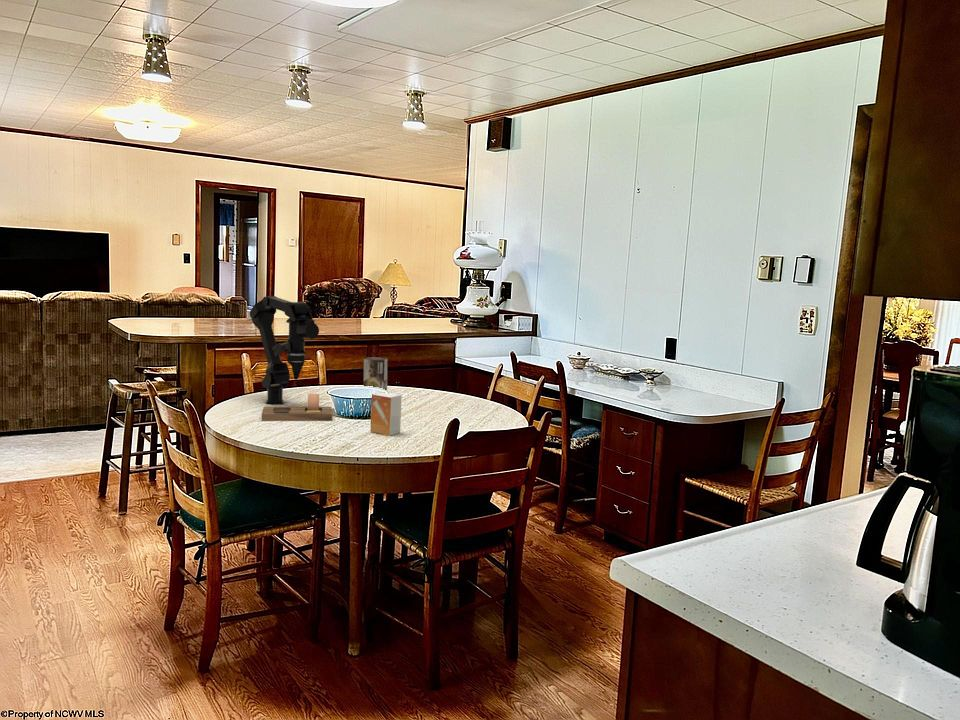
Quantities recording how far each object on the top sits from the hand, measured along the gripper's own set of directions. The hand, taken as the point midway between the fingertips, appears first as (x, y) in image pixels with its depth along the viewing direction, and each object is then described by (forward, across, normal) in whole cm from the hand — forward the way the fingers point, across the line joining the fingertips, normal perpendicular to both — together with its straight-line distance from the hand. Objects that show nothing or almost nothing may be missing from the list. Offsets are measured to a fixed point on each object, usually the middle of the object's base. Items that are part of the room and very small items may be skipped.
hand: (296, 377), depth 276 cm
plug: (+12, +13, +6) cm, 19 cm away
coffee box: (+12, -27, +32) cm, 44 cm away
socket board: (+12, +14, +1) cm, 18 cm away
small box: (+12, +38, +30) cm, 50 cm away
